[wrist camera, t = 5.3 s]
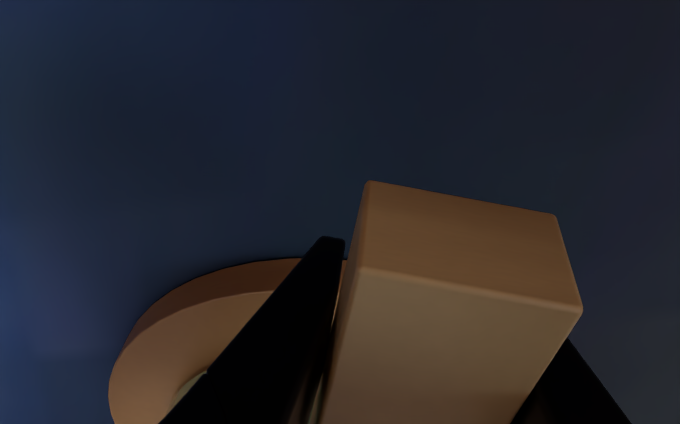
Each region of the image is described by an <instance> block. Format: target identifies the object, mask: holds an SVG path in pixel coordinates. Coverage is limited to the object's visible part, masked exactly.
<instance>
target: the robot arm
mask: <svg viewBox="0 0 680 424" xmlns="http://www.w3.org/2000/svg"><path fill="white" fill-rule="evenodd" d="M344 250H345V241H344V240H343V239H339V238H333V237H328V236H322V237H320V238H319V239H318V240H317V241H316V242H315V244H314V245H313V246H312V247H311V248H310V249H309V251H308V252H307V253H306V254H305V255H304V256H303V258H302V259H301V260H300V261H299V262H298V263H297V265H296V266H295V267H294V268H293V269H292V271H291V272H290V273H289V274H288V275H287V276H286V278H285V279H284V280H283V281H282V282H281V283H280V285H279V286H278V287H277V288H276V289H275V290H274V292H273V293H272V294H271V295H270V296H269V297H268V299H267V300H266V301H265V302H264V303H263V304H262V306H261V307H260V308H259V309H258V310H257V311H256V313H255V314H254V315H253V316H252V317H251V318H250V320H249V321H248V322H247V323H246V324H245V325H244V327H243V328H242V329H241V330H240V331H239V333H238V334H237V335H236V336H235V337H234V338H233V340H232V341H231V342H230V343H229V344H228V345H227V347H226V348H225V349H224V350H223V351H222V352H221V354H220V355H219V356H218V357H217V358H216V359H215V361H214V362H213V363H212V364H211V365H210V366H209V368H208V369H207V370H206V374H205V373H204V374H202V375H201V377H200V378H199V379H198V380H197V381H196V382H195V384H194V385H193V386H192V387H191V388H190V389H189V391H188V392H187V393H186V394H185V395H184V396H183V397H182V398H181V399H180V401H179V402H178V403H177V404H176V405H175V406H174V407H173V408H172V409H171V410H170V412H169V413H168V414H167V415H166V416H165V417H164V418H163V419H162V420H161V421H160V422H159V423H158V424H308V420H309V417H310V414H311V410H312V407H313V404H314V400H315V397H316V394H317V390H318V387H319V384H320V380H321V377H322V373H323V368H324V363H325V359H326V354H327V348H328V343H329V338H330V333H331V327H332V322H333V316H334V311H335V305H336V300H337V294H338V289H339V283H340V276H341V270H342V263H343V256H344ZM510 424H632V423H631V422H630V421H629V419H628V418H627V417H626V415H625V414H624V413H623V411H622V410H621V409H620V407H619V406H618V405H617V403H616V402H615V401H614V399H613V398H612V397H611V395H610V394H609V393H608V391H607V390H606V388H605V387H604V386H603V384H602V383H601V382H600V380H599V379H598V378H597V376H596V375H595V374H594V372H593V371H592V370H591V368H590V367H589V366H588V364H587V363H586V362H585V360H584V359H583V358H582V356H581V355H580V354H579V352H578V351H577V350H576V348H575V347H574V346H573V344H572V343H571V342H570V340H569V339H568V338H566V339H565V341H564V342H563V344H562V345H561V347H560V348H559V350H558V351H557V353H556V354H555V356H554V358H553V359H552V361H551V362H550V364H549V365H548V367H547V368H546V370H545V371H544V373H543V374H542V376H541V377H540V379H539V380H538V382H537V383H536V385H535V386H534V388H533V390H532V391H531V393H530V394H529V396H528V397H527V399H526V400H525V402H524V403H523V405H522V406H521V408H520V409H519V411H518V412H517V414H516V415H515V417H514V418H513V420H512V422H511V423H510Z"/></svg>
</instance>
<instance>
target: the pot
mask: <svg viewBox="0 0 680 424" xmlns="http://www.w3.org/2000/svg"><path fill="white" fill-rule="evenodd" d="M582 312H583V305H582V302H581V298H580V295H579V292H578V288H577V285H576V282H575V278H574V275H573V272H572V268H571V265H570V262H569V258H568V255H567V252H566V248H565V245H564V242H563V238H562V235H561V232H560V228H559V225H558V222H557V218H556V217H555V216H554V215H553V214H550V213H545V212H539V211H534V210H529V209H523V208H518V207H513V206H507V205H502V204H497V203H491V202H486V201H480V200H475V199H470V198H464V197H459V196H454V195H448V194H443V193H438V192H432V191H427V190H422V189H416V188H411V187H405V186H400V185H395V184H389V183H384V182H379V181H373V180H369V181H367V183H366V184H365V185H364V190H363V194H362V198H361V203H360V207H359V211H358V216H357V220H356V224H355V229H354V233H353V237H352V242H351V246H350V250H349V255H348V259H347V263H346V268H345V272H344V276H343V281H342V285H341V289H340V294H339V298H338V302H337V307H336V311H335V315H334V320H333V324H332V328H331V333H330V338H329V343H328V348H327V354H326V359H325V363H324V368H323V373H322V377H321V380H320V384H319V387H318V390H317V394H316V397H315V400H314V404H313V407H312V410H311V414H310V417H309V420H308V424H510V423H511V422H512V420H513V418H514V417H515V415H516V414H517V412H518V411H519V409H520V408H521V406H522V405H523V403H524V402H525V400H526V399H527V397H528V396H529V394H530V393H531V391H532V390H533V388H534V386H535V385H536V383H537V382H538V380H539V379H540V377H541V376H542V374H543V373H544V371H545V370H546V368H547V367H548V365H549V364H550V362H551V361H552V359H553V358H554V356H555V354H556V353H557V351H558V350H559V348H560V347H561V345H562V344H563V342H564V341H565V339H566V338H567V336H568V335H569V333H570V332H571V330H572V329H573V327H574V326H575V324H576V322H577V321H578V319H579V318H580V316H581V315H582ZM204 373H205V374H206V371H204V372H202V373H200V374H199V375H197V376H196V377H194V378H193V379H191V380H190V381H188V382H187V383H186V384H185V385H184V386H183V387H182V388H181V389H180V390H179V391H178V392H177V393H176V395H175V396H174V398H173V399H172V401H171V403H170V404H169V407H168V409H167V412H166V415H167V414H168V413H169V412H170V410H171V409H172V408H173V407H174V406H175V405H176V404H177V403H178V402H179V401H180V399H181V398H182V397H183V396H184V395H185V394H186V393H187V392H188V391H189V389H190V388H191V387H192V386H193V385H194V384H195V382H196V381H197V380H198V379H199V378H200V377H201V375H202V374H204ZM166 415H165V416H166Z"/></svg>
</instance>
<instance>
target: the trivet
mask: <svg viewBox="0 0 680 424" xmlns="http://www.w3.org/2000/svg"><path fill="white" fill-rule="evenodd" d="M301 259H302V258H288V259H279V260H269V261H260V262H252V263H248V264H243V265H239V266H234V267H229V268H225V269H221V270H218V271H216V272H213V273H210V274H207V275H204V276H201V277H198V278H195V279H193V280H192V281H190V282H188V283H186V284H184V285H182V286H180V287H178V288H176V289H174V290H172V291H171V292H169V293H168V294H166V295H165V296H164V297H162V298H161V299H159V300H158V301H157V302H155V303H154V304H153V305H152V306H151V307H150V308H149V309H148V310H147V311H146V312H145V313H144V314H143V315H142V316H141V317H140V318H139V319H138V321H137V322H136V324H135V326H134V327H133V329H132V330H131V332H130V334H129V335H128V337H127V339H126V341H125V343H124V346H123V348H122V350H121V352H120V354H119V356H118V358H117V360H116V362H115V364H114V367H113V370H112V373H111V377H110V380H109V392H108V400H109V405H110V411H111V415H112V418H113V420H114V422H115V424H158V423H159V422H160V421H161V420H162V419H163V418H164V417H165V415H166V412H167V409H168V407H169V404H170V403H171V401H172V399H173V398H174V396H175V395H176V393H177V392H178V391H179V390H180V389H181V388H182V387H183V386H184V385H185V384H186V383H187V382H188V381H190V380H191V379H193V378H194V377H196V376H197V375H199V374H200V373H202V372H204V371H206V370H207V369H208V368H209V366H210V365H211V364H212V363H213V362H214V361H215V359H216V358H217V357H218V356H219V355H220V354H221V352H222V351H223V350H224V349H225V348H226V347H227V345H228V344H229V343H230V342H231V341H232V340H233V338H234V337H235V336H236V335H237V334H238V333H239V331H240V330H241V329H242V328H243V327H244V325H245V324H246V323H247V322H248V321H249V320H250V318H251V317H252V316H253V315H254V314H255V313H256V311H257V310H258V309H259V308H260V307H261V306H262V304H263V303H264V302H265V301H266V300H267V299H268V297H269V296H270V295H271V294H272V293H273V292H274V290H275V289H276V288H277V287H278V286H279V285H280V283H281V282H282V281H283V280H284V279H285V278H286V276H287V275H288V274H289V273H290V272H291V271H292V269H293V268H294V267H295V266H296V265H297V263H298V262H299V261H300V260H301ZM346 263H347V260H343V263H342V270H341V276H340V283H339V289H338V294H337V300H336V305H335V311H336V307H337V302H338V298H339V294H340V289H341V285H342V281H343V276H344V272H345V268H346ZM335 311H334V315H335ZM333 320H334V316H333ZM332 324H333V322H332ZM331 328H332V327H331Z"/></svg>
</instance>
